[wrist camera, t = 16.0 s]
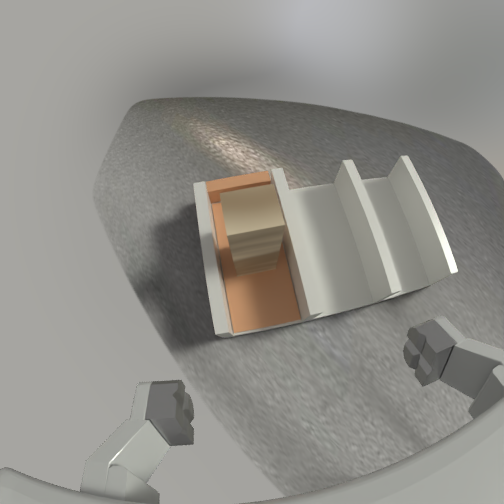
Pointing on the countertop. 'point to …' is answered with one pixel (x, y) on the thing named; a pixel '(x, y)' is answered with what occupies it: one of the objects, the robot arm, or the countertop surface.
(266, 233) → the block
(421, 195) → the rack
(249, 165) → the countertop surface
